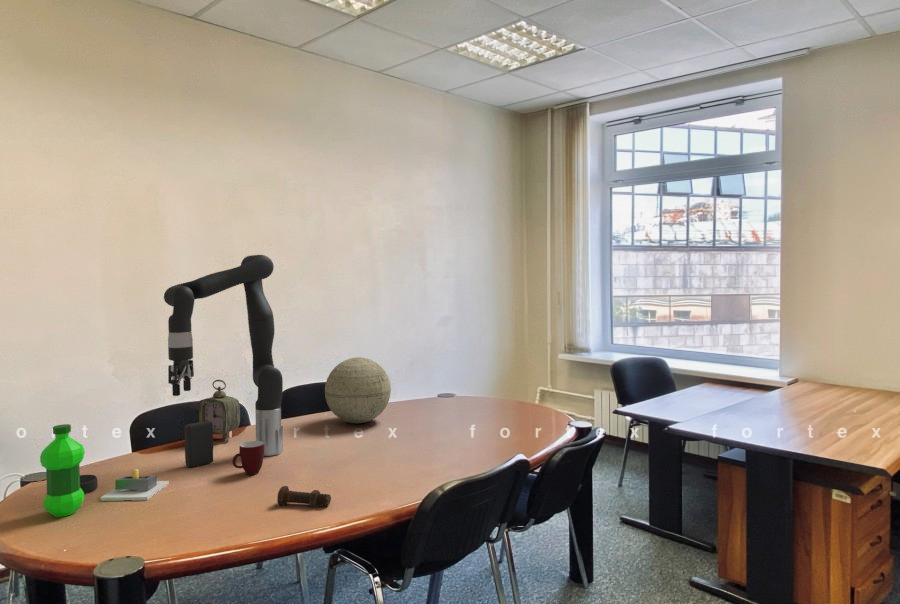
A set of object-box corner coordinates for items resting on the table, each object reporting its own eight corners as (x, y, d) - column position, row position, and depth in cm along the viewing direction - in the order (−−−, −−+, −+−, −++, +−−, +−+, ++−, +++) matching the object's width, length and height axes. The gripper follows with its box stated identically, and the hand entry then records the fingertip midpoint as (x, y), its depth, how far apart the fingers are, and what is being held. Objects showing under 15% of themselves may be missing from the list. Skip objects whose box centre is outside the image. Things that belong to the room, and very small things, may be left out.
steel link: (156, 485, 187) (156, 475, 187) (148, 489, 181) (148, 479, 181) (124, 485, 186) (125, 475, 187) (115, 489, 181) (115, 479, 181)
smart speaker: (73, 498, 179) (73, 485, 179) (58, 492, 184) (58, 480, 183) (103, 489, 186) (103, 476, 186) (88, 484, 191) (88, 472, 191)
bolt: (328, 513, 171) (279, 509, 173) (333, 499, 175) (285, 495, 177) (325, 500, 168) (275, 496, 170) (330, 486, 172) (282, 482, 174)
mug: (239, 480, 194) (238, 450, 193) (228, 474, 199) (228, 445, 199) (269, 473, 201) (268, 444, 200) (258, 467, 207) (257, 439, 206)
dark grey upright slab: (210, 460, 215) (209, 419, 215) (214, 462, 212) (213, 421, 212) (184, 466, 209) (183, 424, 208) (188, 468, 206) (187, 426, 205)
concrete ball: (358, 412, 292) (357, 351, 290) (404, 420, 274) (404, 356, 273) (311, 424, 267) (310, 358, 266) (358, 434, 250) (357, 364, 249)
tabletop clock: (199, 440, 241) (197, 380, 240) (215, 435, 249) (214, 376, 248) (226, 444, 236) (225, 382, 235) (242, 438, 244) (241, 379, 243)
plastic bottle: (39, 523, 160) (36, 432, 159) (47, 509, 170) (45, 423, 169) (81, 517, 164) (79, 428, 163) (88, 503, 174) (85, 420, 173)
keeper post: (168, 483, 191) (168, 462, 190) (147, 500, 177) (147, 477, 176) (125, 484, 190) (124, 463, 190) (100, 500, 176) (99, 477, 176)
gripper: (182, 347, 191) (184, 397, 191) (200, 342, 205) (201, 389, 206) (159, 348, 190) (160, 397, 191) (178, 343, 205) (179, 389, 205)
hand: (182, 393), depth 198 cm, fingers open, 8 cm apart
